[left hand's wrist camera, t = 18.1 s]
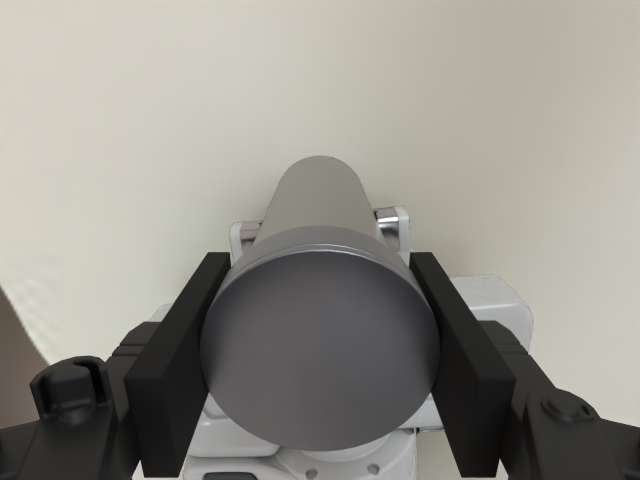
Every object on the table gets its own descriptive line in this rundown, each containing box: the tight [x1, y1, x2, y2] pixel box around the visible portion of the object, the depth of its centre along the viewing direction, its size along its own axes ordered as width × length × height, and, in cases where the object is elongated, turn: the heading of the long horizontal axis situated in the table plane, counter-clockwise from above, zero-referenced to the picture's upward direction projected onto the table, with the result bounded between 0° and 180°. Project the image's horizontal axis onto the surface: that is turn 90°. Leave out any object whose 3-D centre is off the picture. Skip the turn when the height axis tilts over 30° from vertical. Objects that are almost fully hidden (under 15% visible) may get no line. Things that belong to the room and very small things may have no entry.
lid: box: [199, 225, 441, 452], centre depth 11 cm, size 6×6×2 cm
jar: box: [252, 156, 388, 247], centre depth 19 cm, size 6×6×16 cm
